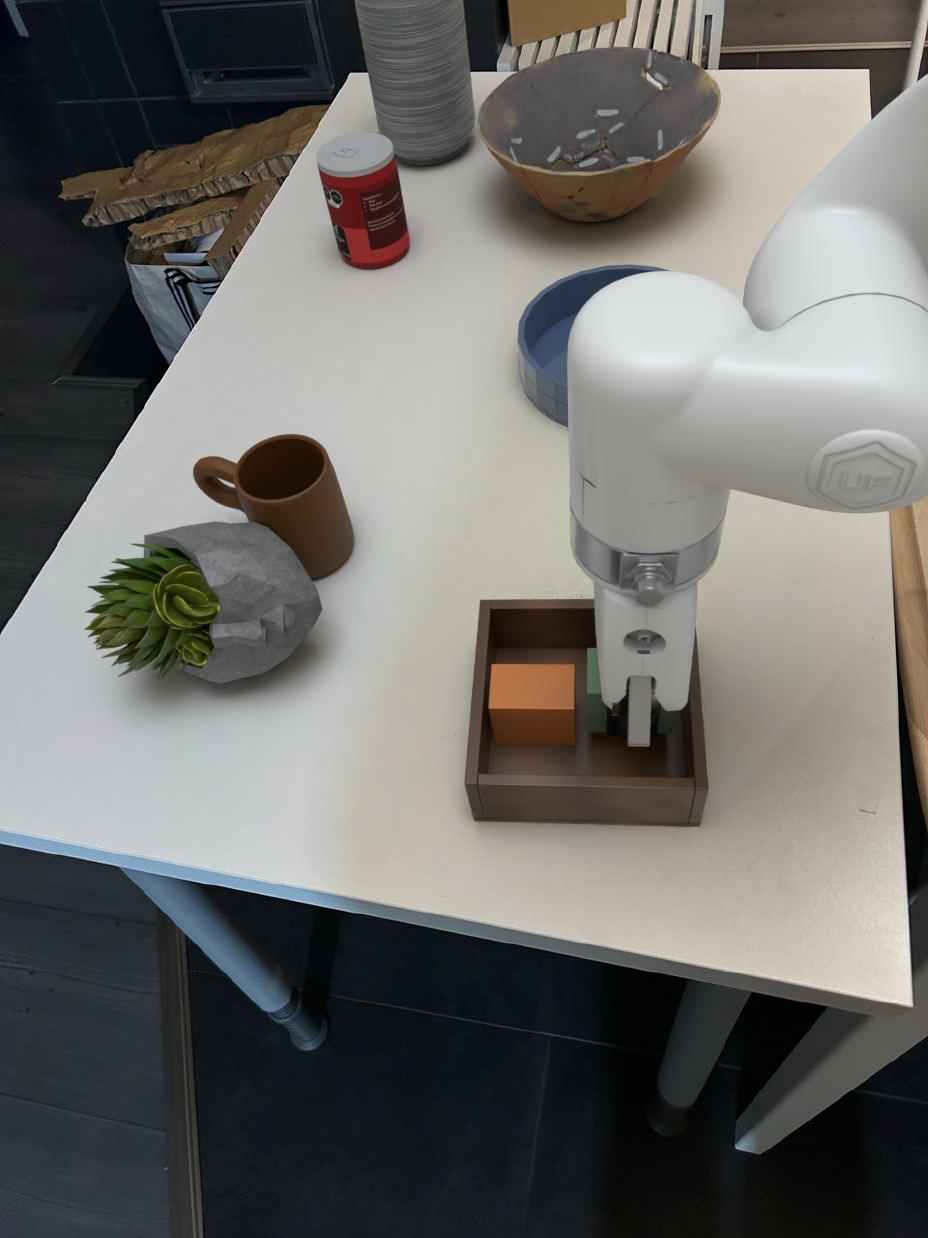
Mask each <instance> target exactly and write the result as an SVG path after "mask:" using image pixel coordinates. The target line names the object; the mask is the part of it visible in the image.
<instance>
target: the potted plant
mask: <svg viewBox="0 0 928 1238" xmlns="http://www.w3.org/2000/svg"><path fill="white" fill-rule="evenodd" d="M143 536H144V537H143V543H130V545H132V546H135V547H139V548H143V557H131V558H117V557H115V558H114V559H115V560H112V561H110V563H111V564H119V565H122V566H126V567H125V568H123V567H122V568H113V569H109V572H112V573H110V574H107V575H102V576H100V577H99V579H102V580H101V581H99V582H98V583H99V584H97V585H88V586H86V588H89V589H91V590H93V591H95V592H96V593H99V594H101V595H100V596H99V598H101V600H100V601H98V602H96V603H94V604H92V605H91V606H90V609H88V610H86V611H85V613H87V614H95V615H97V616H95V617H94V618H93V619H92V620H91V621H90V623H89V625H88V626H86V627H85V628H83V630H86V631H91V633H90V634H89V635H87V639H88V638H91V637H95V638H94V639H95V641H94V642H93V645H96V646H95V647H96V648H95V650H96V651H98V650H104V649H105V650H108V649H117V648H119V649H117V650H114V651H112V652H109V653H107V654H105V655H103V656H101V657H100V659H106V658H111V657H116V656H117V658H116V659H115V661H114V662H113V663H112V664H111V665H110V668H112V667H114V666H116V665H123V664H125V663H127V664H126V665H125V668H126V669H125V670H124V671H123V672H121V673H120V674H119V675H117V678H120V677H122V676H125V675H127V674H130V673H132V672H133V671H134V672H137V671H139V670H142V669H143V668H145V667H146V666H148V665H150V664H151V663H152V662H153V663H152V664H151V665H150V667H149V668H148V669H147V670H148V671H150V670H151V671H156V670H157V669H158V668H159V671H158V675H157V678H156V681H158V680H159V679H160V680H162V679H164V678H165V677H167V676H168V674H169V673H170V672H171V671H172V670H173V669H174V668H175V669H177V670H179V673H180V672H185V673H187V674H189V675H193V676H196V677H198V678H201V679H203V680H206V681H209V682H213V683H217V684H221V685H222V684H225V683H229V682H233V681H236V680H240V679H243V678H244V679H245V678H247V677H251V676H256V675H261V674H265V673H267V672H268V671H270V670H271V669H273V668H274V667H276V666H277V665H278V664H280V663H281V662H283V661H285V659H287V658H289V657H290V656H291V655H292V654H293V653H294V651H295V650H296V649H297V647H298V646H299V645H300V644H301V643H302V641H303V640H304V639H305V637H306V636H307V635H308V634H309V633H310V631H311V630H312V629H313V627H314V626H315V625H316V623H317V621H318V620H319V618H320V615H321V613H322V612H323V606H322V601H321V597H320V592H319V590H318V589H317V587H316V586H315V584H314V582H313V579H310V577H309V575H308V574H307V572H306V570H305V569H304V567H303V566H302V564H301V563H300V561H299V559H298V558H297V556H296V555H295V553H294V552H293V550H292V549H291V548H290V547H289V546H288V545H287V544H286V543H285V542H284V541H282V540H281V539H280V538H279V537H278V536H277V535H276V534H275V533H273V532H272V531H271V530H270V529H269V528H267V527H265V526H263V525H260V524H258V523H255V522H249V521H247V522H234V523H231V522H224V521H215V520H214V521H209V522H202V523H195V524H188V525H182V526H178V527H173V528H169V529H165V530H161V531H156V532H153V533H148V534H145V535H143ZM103 579H104V580H103ZM96 636H97V637H96ZM122 646H123V647H122ZM120 647H122V648H120Z"/></svg>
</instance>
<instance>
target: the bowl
mask: <svg viewBox="0 0 928 1238" xmlns="http://www.w3.org/2000/svg"><path fill="white" fill-rule="evenodd" d="M647 74H648V75H649V76H650V78H651V79H653V80H654V81H655V82H656V83H659V84H660V85H661V89H660V87H659V86H657V84H654V83H653V82H652V81H651V80H650V79H648V77H647ZM721 103H722V94H721V89H720V87H719V83H718V82H717V81H716V80H715V78H713V77H712V76H711V75H710V74H709V73H708V72H707V71H706V70H705V69H704V68H703V67H702V66H700V65H699V64H696V63H694V62H693V61H691V60H690V59H689V60H688V59H685V58H683V57H680V56H677V55H675V54H672V53H669V52H666V51H663V50H660V51H658V49H654V48H645V47H633V46H631V47H630V46H612V47H591V48H587V49H584V50H577V51H571V52H566V53H562V54H559V55H556V56H554V57H551V58H547V59H543V60H542V61H538V62H536V63H533V64H531V65H529V66H525V67H524V68H522V69H520V70H518V71H516V72H514V73H512V74H510V75H509V76H507V77H506V78H505V79H504V80H503V81H502V82H501V83H500V84H498V86H496V87H495V88H494V89H493V90H492V91H491V92H490V93H489V94H488V95H487V96H486V97H485V99H484V100H483V102H482V103H481V105H480V107H479V111H478V115H477V126H478V127H477V130H478V135H479V137H480V139H481V140H482V141H483V144H485V146H486V148H487V150H488V151H489V153H490V154H491V156H492V157H494V159H495V160H496V161H497V162H498V163H499V164H500V165H501V166H502V168H503V169H504V170H505V171H506V172H507V173H508V174H509V175H510V176H511V177H512V178H513V179H514V180H515V181H516V182H517V184H519V185H520V186H521V187H522V188H523V189H524V190H525V191H526V192H527V193H528V194H529V195H531V196H533V198H535V199H536V200H537V201H538V202H540V203H541V204H542V205H544V206H545V207H546V208H547V209H548V210H549V211H551V212H553V213H555V214H556V215H558V216H560V217H562V218H564V219H567V220H570V221H575V222H583V223H584V222H585V223H586V222H587V223H589V222H590V223H591V222H594V223H596V222H597V223H598V222H601V221H602V222H603V221H608V220H613V219H617V218H620V217H621V216H624V215H626V214H628V213H630V212H632V211H633V210H635V209H637V208H638V207H640V206H641V205H642V204H644V203H645V202H646V201H647V200H649V198H651V196H652V195H653V194H654V193H655V192H656V191H657V190H658V188H660V187H661V186H662V184H663V183H664V182H665V181H666V180H667V179H668V178H670V176H671V175H672V174H673V173H674V172H675V171H676V170H677V169H678V167H679V166H680V165H681V164H682V162H683V161H684V160H685V159H686V158H687V157H688V156H689V154H690V153H691V152H692V151H693V150H694V149H695V148H696V146H697V145H698V144H699V143H700V142H701V141H702V139H703V138H704V137H705V135H706V134H707V133H708V131H709V130H710V129H711V126H712V125H713V123H714V122H715V120H716V119H717V117H718V115H719V113H720V109H721Z"/></svg>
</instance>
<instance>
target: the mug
mask: <svg viewBox="0 0 928 1238" xmlns="http://www.w3.org/2000/svg"><path fill="white" fill-rule="evenodd" d="M192 477H193V479H194V482H195V484H196V486H197V487H198V489H199V490H200V491H201V492H202V493H203V494H204V495H205V496H207V497H208V498H209V499H210V500H212V501H213V502H214V503H217V504H219V505H221V506H224V507H226V508H230V509H232V510H233V509H234V510H238V511H239V512H242V513H243V514H244V515H245V516H246V519H247V522H255V523H258V524H260V525H263V526H265V527H267V528H269V529H270V530H271V531H272V532H273V533H275V534H276V535H277V536H278V537H279V538H280V539H281V540H282V541H284V542H285V543H286V544H287V545H288V546H289V547H290V548H291V549H292V550H293V552H294V553H295V555H296V556H297V558H298V559H299V561H300V563H301V564H302V566H303V567H304V569H305V570H306V572H307V574H308V575H309V577H310V579H311V580H313V579H317V578H321V577H324V576H326V575H329V574H330V573H332V572H333V571H335V570H337V569H338V568H340V566H341V565H342V564H343V563H345V561H346V560H347V559H348V557H349V555H350V554H351V552H352V549H353V547H354V540H355V533H354V528H353V524H352V521H351V517H350V514H349V510H348V508H347V503H346V501H345V498H344V494H343V492H342V488H341V486H340V482H339V479H338V476H337V472H336V469H335V466H334V465H333V463H332V460H331V459H330V455H329V453H328V451H327V450H326V448H325V447H324V445H322V444H321V443H320V442H319V441H317V439H314V438H312V437H310V436H307V435H304V434H299V433H298V434H297V433H285V434H278V435H273V436H271V437H267V438H265V439H263V440H260V441H259V442H257V443H256V444H253V445H252V446H251V447H249V448H248V449H247V450H246V451H245V452H244V453H243V454H242V455H241V456H240V458H239V459H238V461H237V462H235V461H232V460H229V459H227V458H225V457H221V456H216V455H209V456H204V457H201V458H199V459H198V461H196V462H195V464H194V465H193V469H192ZM225 482H227V483H229V484H232V485H234V486H230V485H229V484H226V483H225Z"/></svg>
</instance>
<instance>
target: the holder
mask: <svg viewBox="0 0 928 1238" xmlns="http://www.w3.org/2000/svg"><path fill="white" fill-rule="evenodd" d="M478 606H479V607H478V617H477V618H478V619H477V629H476V640H475V641H476V642H475V654H474V665H473V666H474V667H473V677H472V690H471V699H470V700H471V701H470V711H469V713H470V714H469V723H468V724H469V725H468V737H467V748H466V760H465V771H464V783H463V784H464V787H465V792H466V795H467V799H468V800H467V801H468V803H469V807H470V811H471V815H472V818H473V821H475V822H478V821H479V822H509V823H539V824H541V823H543V824H546V823H547V824H576V825H577V824H578V825H581V824H582V825H612V826H649V827H650V826H651V827H681V828H683V827H684V828H685V827H686V828H701V826H702V821H703V816H704V814H705V813H704V812H705V809H706V808H705V807H706V804H707V800H708V795H709V791H710V786H709V785H710V783H709V772H708V761H707V759H708V758H707V747H706V735H705V721H704V712H703V709H704V708H703V696H702V685H701V683H702V682H701V673H700V661H699V649H698V634H697V625H696V626H695V637H694V647H693V656H692V665H691V674H690V683H689V693H688V702H687V704H686V705H685V706H684V708H683V709H681V710H677V711H675V717H674V723H673V729H672V734H661V733H657V735H656V736H654V737H650V745H649V747H644V746H628V745H627V740H623V739H621V738H620V737H618V736H608V735H607V734H606V732H587V648H597V641H596V628H595V607H594V598H521V599H520V598H515V599H507V598H506V599H504V598H503V599H499V598H498V599H496V598H495V599H480V600H479V605H478ZM492 664H574V665H575V684H576V745H575V746H563V745H502V744H495V740H494V735H493V730H492V724H491V719H490V714H489V694H490V680H491V666H492Z"/></svg>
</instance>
